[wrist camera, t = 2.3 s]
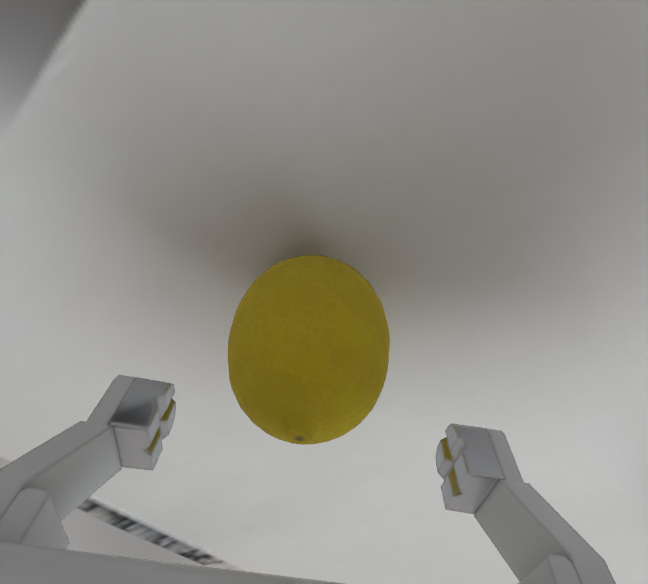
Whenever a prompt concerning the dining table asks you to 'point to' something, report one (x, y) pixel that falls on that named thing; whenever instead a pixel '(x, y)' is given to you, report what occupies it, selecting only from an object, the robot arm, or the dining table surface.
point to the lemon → (308, 350)
